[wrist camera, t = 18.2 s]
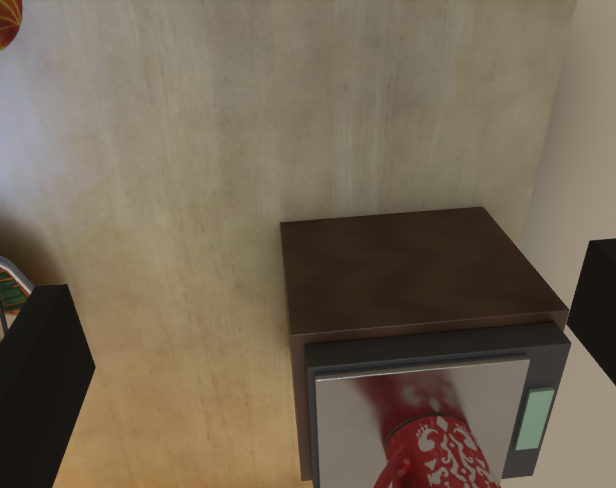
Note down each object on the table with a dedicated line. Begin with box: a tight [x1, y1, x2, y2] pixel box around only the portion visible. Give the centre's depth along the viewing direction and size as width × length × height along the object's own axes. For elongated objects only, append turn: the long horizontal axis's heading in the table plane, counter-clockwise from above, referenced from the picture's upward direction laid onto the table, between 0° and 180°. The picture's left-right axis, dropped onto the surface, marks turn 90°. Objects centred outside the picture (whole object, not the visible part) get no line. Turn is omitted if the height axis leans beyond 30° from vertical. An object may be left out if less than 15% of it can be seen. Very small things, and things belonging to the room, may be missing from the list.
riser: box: [280, 207, 569, 481], centre depth 52 cm, size 22×18×18 cm
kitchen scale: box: [304, 322, 571, 488], centre depth 43 cm, size 20×16×3 cm
